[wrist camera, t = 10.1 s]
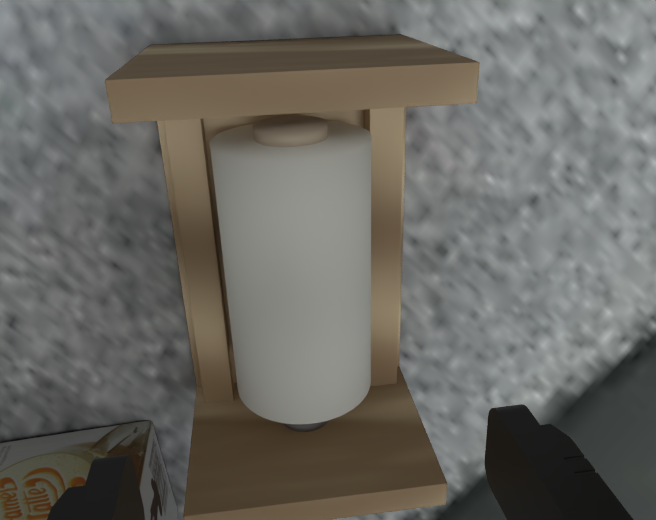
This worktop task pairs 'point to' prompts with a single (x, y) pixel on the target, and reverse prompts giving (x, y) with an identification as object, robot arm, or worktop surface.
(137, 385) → the worktop surface
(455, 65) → the holder
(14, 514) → the coffee box
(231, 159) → the roll
